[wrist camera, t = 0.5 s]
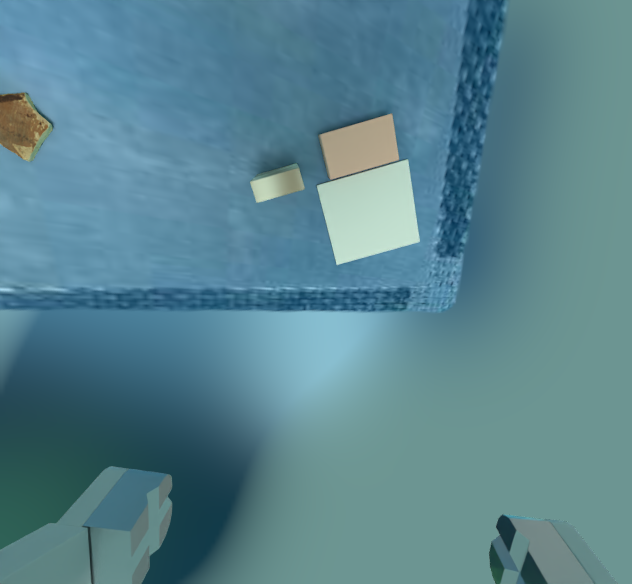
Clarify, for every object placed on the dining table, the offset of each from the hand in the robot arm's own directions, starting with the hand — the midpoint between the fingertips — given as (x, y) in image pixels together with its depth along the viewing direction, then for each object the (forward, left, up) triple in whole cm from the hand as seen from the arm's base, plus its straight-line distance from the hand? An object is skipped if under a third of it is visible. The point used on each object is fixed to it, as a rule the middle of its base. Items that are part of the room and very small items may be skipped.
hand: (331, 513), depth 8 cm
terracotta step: (-12, +3, -48) cm, 49 cm away
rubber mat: (-5, +11, -48) cm, 49 cm away
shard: (+13, -37, -48) cm, 62 cm away
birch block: (-2, -4, -48) cm, 48 cm away
